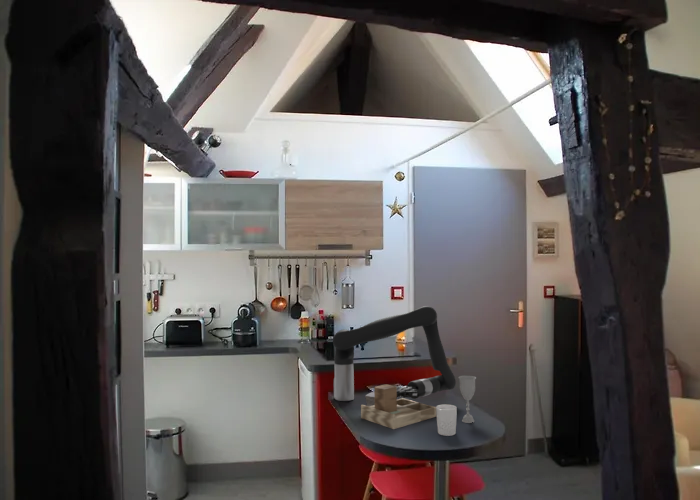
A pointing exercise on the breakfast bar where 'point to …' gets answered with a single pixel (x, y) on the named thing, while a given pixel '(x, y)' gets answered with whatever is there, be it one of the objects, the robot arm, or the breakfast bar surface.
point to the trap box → (399, 414)
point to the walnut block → (386, 398)
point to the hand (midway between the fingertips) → (391, 395)
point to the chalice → (467, 394)
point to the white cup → (446, 419)
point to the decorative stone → (370, 399)
